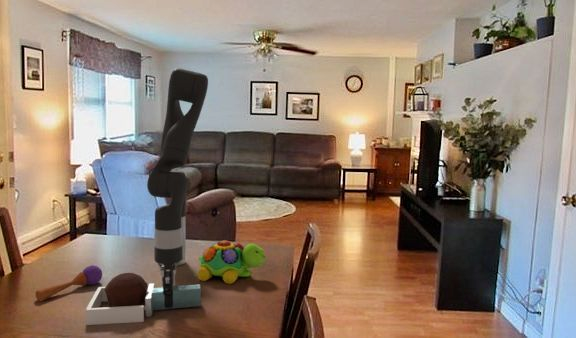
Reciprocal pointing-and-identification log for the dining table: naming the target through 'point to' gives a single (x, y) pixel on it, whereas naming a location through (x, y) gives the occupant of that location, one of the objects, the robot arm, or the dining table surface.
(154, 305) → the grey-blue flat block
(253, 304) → the dining table surface
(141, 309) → the bay
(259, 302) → the dining table surface
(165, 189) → the robot arm
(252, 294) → the dining table surface
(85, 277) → the purple ball-ended brown rod
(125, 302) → the muffin
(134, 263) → the dining table surface
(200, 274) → the turtle toy
